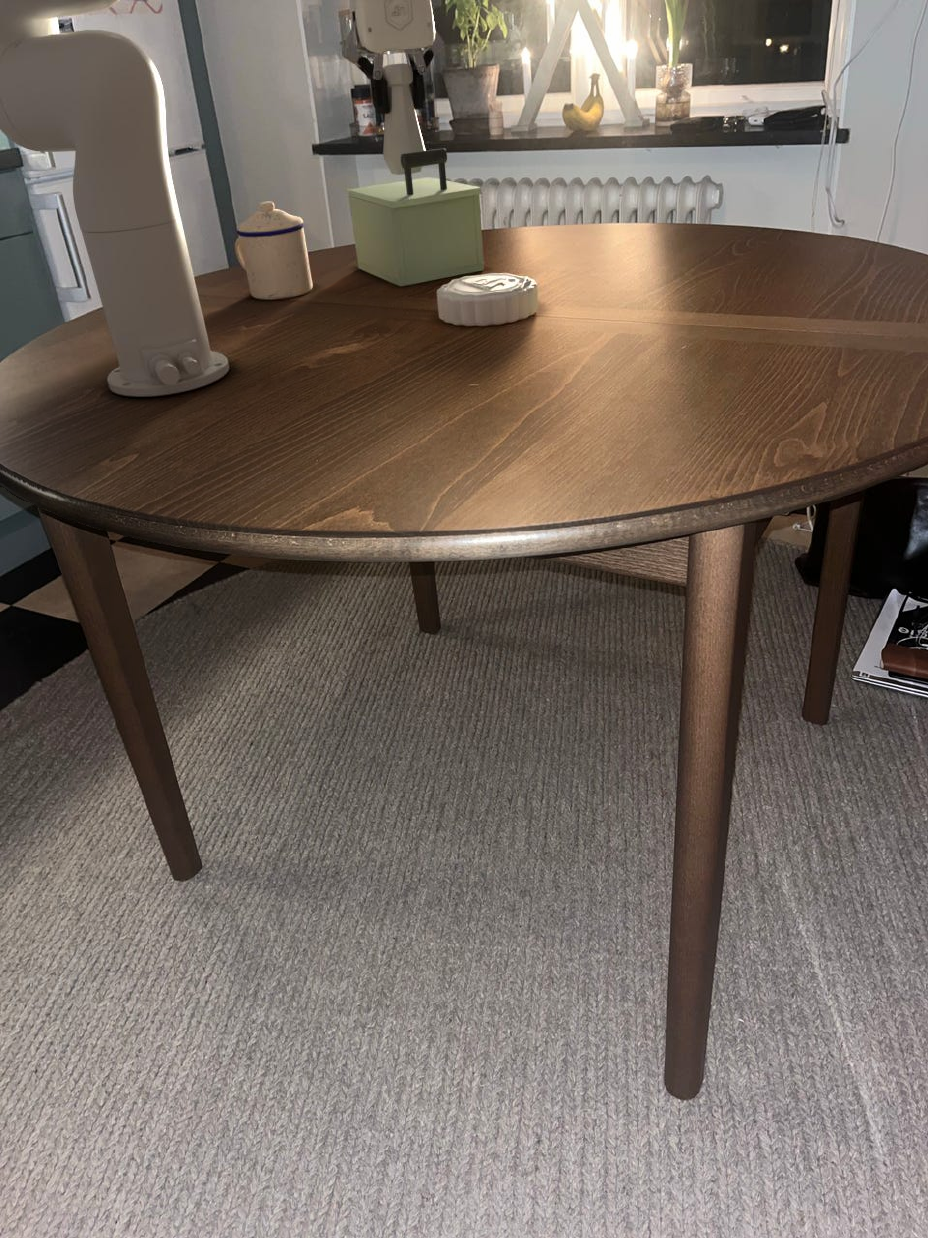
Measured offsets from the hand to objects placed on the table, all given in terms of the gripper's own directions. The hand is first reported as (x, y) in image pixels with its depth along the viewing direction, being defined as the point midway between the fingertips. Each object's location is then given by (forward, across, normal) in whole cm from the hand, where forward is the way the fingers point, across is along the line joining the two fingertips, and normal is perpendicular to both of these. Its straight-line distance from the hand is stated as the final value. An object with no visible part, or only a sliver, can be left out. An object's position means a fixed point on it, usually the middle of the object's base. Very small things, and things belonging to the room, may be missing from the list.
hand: (400, 109), depth 126 cm
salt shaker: (+8, 0, 0) cm, 8 cm away
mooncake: (+21, -4, -30) cm, 37 cm away
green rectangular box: (+21, 0, -1) cm, 21 cm away
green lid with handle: (+10, 0, -1) cm, 11 cm away
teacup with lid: (+21, -21, +2) cm, 29 cm away
